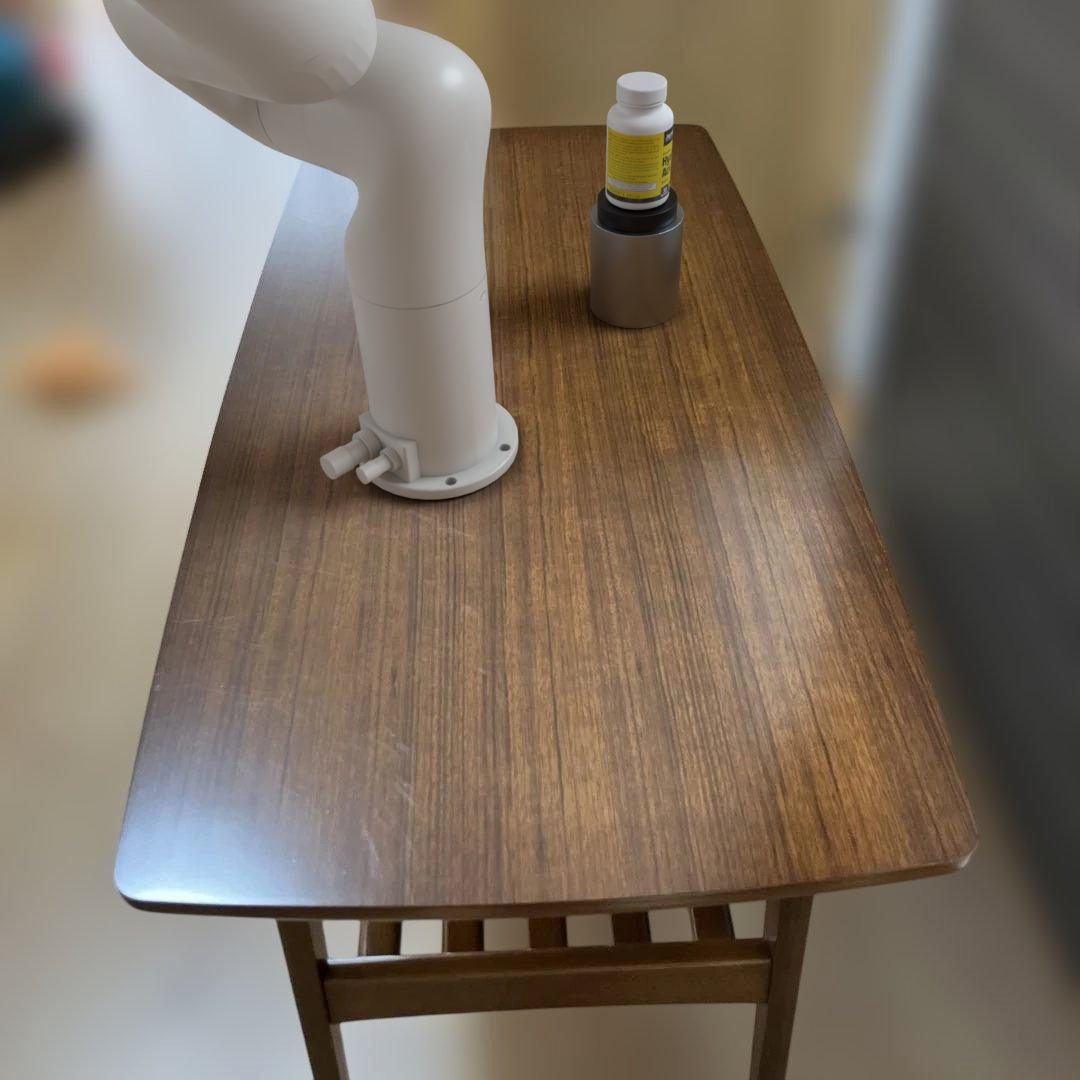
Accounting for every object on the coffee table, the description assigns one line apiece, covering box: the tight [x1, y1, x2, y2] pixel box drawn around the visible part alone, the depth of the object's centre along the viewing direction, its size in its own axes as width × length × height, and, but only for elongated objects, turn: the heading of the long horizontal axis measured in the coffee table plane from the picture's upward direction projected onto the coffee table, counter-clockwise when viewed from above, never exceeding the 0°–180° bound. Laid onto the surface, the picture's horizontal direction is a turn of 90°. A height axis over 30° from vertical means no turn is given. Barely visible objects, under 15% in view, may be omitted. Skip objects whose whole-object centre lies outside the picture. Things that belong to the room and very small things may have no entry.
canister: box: [589, 186, 685, 329], centre depth 98 cm, size 8×8×10 cm
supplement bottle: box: [605, 71, 675, 210], centre depth 91 cm, size 5×5×10 cm
